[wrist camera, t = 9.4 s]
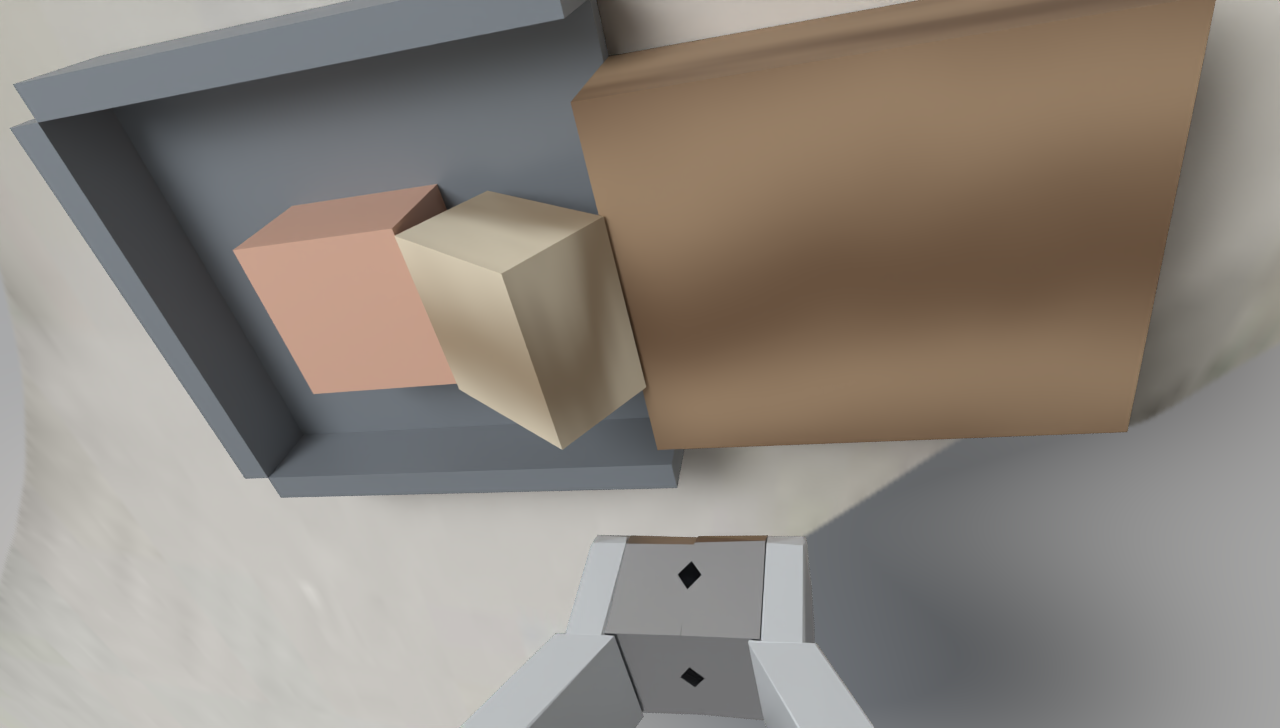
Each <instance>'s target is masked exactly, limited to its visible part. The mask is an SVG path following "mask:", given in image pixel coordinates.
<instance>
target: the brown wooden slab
mask: <svg viewBox="0 0 1280 728" xmlns="http://www.w3.org/2000/svg"><path fill="white" fill-rule="evenodd" d="M1215 1H1216V0H918V1H912V2H907V3H901V4H896V5H890V6H885V7H879V8H873V9H868V10H862V11H857V12H851V13H846V14H840V15H835V16H829V17H824V18H818V19H813V20H807V21H802V22H796V23H791V24H785V25H779V26H774V27H768V28H763V29H757V30H752V31H746V32H741V33H735V34H730V35H724V36H719V37H713V38H708V39H702V40H697V41H691V42H686V43H680V44H674V45H669V46H663V47H658V48H652V49H647V50H641V51H636V52H630V53H625V54H619V55H614V56H608V58H607V59H606V60H605V61H604V62H603V64H602V65H601V66H600V67H599V68H598V70H597V71H596V72H595V73H594V74H593V76H592V77H591V78H590V79H589V80H588V82H587V83H586V84H585V85H584V86H583V88H582V89H581V90H580V91H579V92H578V94H577V95H576V96H575V97H574V98H573V100H572V101H571V106H572V110H573V114H574V118H575V122H576V126H577V130H578V134H579V138H580V142H581V146H582V150H583V154H584V158H585V162H586V166H587V170H588V174H589V178H590V182H591V186H592V190H593V194H594V198H595V202H596V206H597V210H598V214H599V216H603V217H604V221H605V225H606V229H607V233H608V237H609V241H610V245H611V249H612V253H613V257H614V261H615V265H616V269H617V273H618V277H619V281H620V285H621V289H622V293H623V297H624V301H625V305H626V309H627V313H628V317H629V321H630V325H631V329H632V333H633V337H634V341H635V345H636V348H637V352H638V356H639V360H640V364H641V368H642V372H643V376H644V380H645V384H646V388H644V389H643V394H644V398H645V402H646V406H647V410H648V414H649V418H650V422H651V426H652V430H653V434H654V438H655V442H656V446H657V450H669V449H695V448H721V447H748V446H774V445H800V444H826V443H853V442H879V441H905V440H931V439H958V438H984V437H1008V436H1009V437H1010V436H1036V435H1062V434H1089V433H1115V432H1127V431H1128V426H1129V421H1130V416H1131V411H1132V406H1133V401H1134V396H1135V392H1136V387H1137V382H1138V377H1139V372H1140V367H1141V362H1142V357H1143V352H1144V348H1145V343H1146V338H1147V333H1148V328H1149V323H1150V318H1151V313H1152V309H1153V304H1154V299H1155V294H1156V289H1157V284H1158V279H1159V274H1160V270H1161V265H1162V260H1163V255H1164V250H1165V245H1166V240H1167V235H1168V230H1169V226H1170V221H1171V216H1172V211H1173V206H1174V201H1175V196H1176V191H1177V187H1178V182H1179V177H1180V172H1181V167H1182V162H1183V157H1184V152H1185V148H1186V143H1187V138H1188V133H1189V128H1190V123H1191V118H1192V113H1193V108H1194V104H1195V99H1196V94H1197V89H1198V84H1199V79H1200V74H1201V69H1202V65H1203V60H1204V55H1205V50H1206V45H1207V40H1208V35H1209V30H1210V25H1211V21H1212V16H1213V11H1214V6H1215Z"/></svg>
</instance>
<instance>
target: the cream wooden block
mask: <svg viewBox="0 0 1280 728" xmlns="http://www.w3.org/2000/svg"><path fill="white" fill-rule="evenodd" d="M395 239H396V241H397V243H398V246H399V248H400V250H401V253H402V255H403V258H404V260H405V262H406V265H407V267H408V269H409V272H410V274H411V277H412V279H413V281H414V284H415V286H416V288H417V291H418V293H419V295H420V298H421V300H422V303H423V305H424V307H425V310H426V312H427V314H428V317H429V319H430V322H431V324H432V326H433V329H434V331H435V333H436V336H437V338H438V340H439V343H440V345H441V348H442V350H443V352H444V355H445V357H446V359H447V362H448V364H449V366H450V369H451V371H452V374H453V376H454V378H455V381H456V383H457V385H458V388H459V390H461V391H463V392H464V393H466V394H468V395H469V396H471V397H473V398H475V399H476V400H478V401H480V402H481V403H483V404H485V405H487V406H488V407H490V408H492V409H493V410H495V411H497V412H498V413H500V414H502V415H504V416H505V417H507V418H509V419H510V420H512V421H514V422H516V423H517V424H519V425H521V426H522V427H524V428H526V429H528V430H529V431H531V432H533V433H534V434H536V435H538V436H539V437H541V438H543V439H545V440H546V441H548V442H550V443H551V444H553V445H555V446H557V447H558V448H560V449H562V450H563V449H564V448H566V447H567V446H568V445H570V444H571V443H572V442H574V441H575V440H576V439H578V438H579V437H580V436H582V435H583V434H584V433H586V432H587V431H588V430H590V429H591V428H592V427H594V426H595V425H596V424H598V423H599V422H600V421H602V420H603V419H604V418H606V417H607V416H608V415H610V414H611V413H612V412H614V411H615V410H616V409H618V408H619V407H620V406H622V405H623V404H624V403H626V402H627V401H628V400H630V399H631V398H632V397H634V396H635V395H636V394H638V393H639V392H640V391H642V390H643V389H644V388H646V384H645V380H644V376H643V372H642V368H641V364H640V360H639V356H638V352H637V348H636V345H635V341H634V337H633V333H632V329H631V325H630V321H629V317H628V313H627V309H626V305H625V301H624V297H623V293H622V289H621V285H620V281H619V277H618V273H617V269H616V265H615V261H614V257H613V253H612V249H611V245H610V241H609V237H608V233H607V229H606V225H605V221H604V217H603V216H599V215H595V214H590V213H586V212H581V211H577V210H572V209H568V208H563V207H559V206H554V205H550V204H545V203H541V202H536V201H532V200H527V199H523V198H518V197H514V196H510V195H505V194H501V193H496V192H492V191H486V192H484V193H482V194H479V195H477V196H475V197H473V198H471V199H469V200H467V201H465V202H463V203H461V204H459V205H457V206H455V207H453V208H451V209H449V210H447V211H444V212H442V213H440V214H438V215H436V216H434V217H432V218H430V219H428V220H426V221H424V222H422V223H420V224H418V225H416V226H414V227H412V228H409V229H407V230H405V231H403V232H401V233H399V234H397V235H395Z"/></svg>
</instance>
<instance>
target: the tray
mask: <svg viewBox="0 0 1280 728" xmlns="http://www.w3.org/2000/svg"><path fill="white" fill-rule="evenodd" d="M607 58H608V52H607V47H606V42H605V38H604V33H603V28H602V24H601V19H600V14H599V10H598V5H597V1H596V0H350V1H346V2H341V3H337V4H332V5H328V6H323V7H319V8H314V9H310V10H305V11H301V12H296V13H292V14H287V15H283V16H278V17H274V18H269V19H265V20H260V21H256V22H251V23H247V24H242V25H238V26H233V27H229V28H224V29H220V30H215V31H210V32H206V33H201V34H197V35H192V36H188V37H183V38H179V39H174V40H170V41H165V42H161V43H156V44H152V45H147V46H143V47H138V48H134V49H129V50H125V51H120V52H116V53H111V54H107V55H102V56H98V57H95V58H92V59H89V60H86V61H83V62H80V63H77V64H74V65H71V66H68V67H65V68H62V69H59V70H56V71H53V72H50V73H47V74H43V75H40V76H37V77H34V78H31V79H28V80H25V81H22V82H19V83H16V84H13V85H14V87H15V88H16V90H17V91H18V93H19V94H20V96H21V98H22V99H23V101H24V102H25V104H26V105H27V107H28V108H29V110H30V111H31V113H32V115H33V116H34V118H35V119H32V120H30V121H27V122H25V123H22V124H19V125H17V126H14V127H11V128H10V129H11V131H12V132H13V134H14V135H15V137H16V138H17V140H18V141H19V143H20V144H21V146H22V147H23V149H24V150H25V152H26V153H27V155H28V156H29V157H30V159H31V160H32V162H33V163H34V165H35V166H36V168H37V169H38V171H39V172H40V174H41V175H42V177H43V178H44V180H45V181H46V183H47V184H48V186H49V187H50V189H51V190H52V192H53V193H54V195H55V196H56V198H57V199H58V201H59V202H60V204H61V205H62V207H63V208H64V210H65V211H66V213H67V214H68V216H69V217H70V218H71V220H72V221H73V223H74V224H75V226H76V227H77V229H78V230H79V232H80V233H81V235H82V236H83V238H84V239H85V241H86V242H87V244H88V245H89V247H90V248H91V250H92V251H93V253H94V254H95V256H96V257H97V259H98V260H99V262H100V263H101V265H102V266H103V268H104V269H105V271H106V272H107V274H108V275H109V277H110V278H111V280H112V281H113V282H114V284H115V285H116V287H117V288H118V290H119V291H120V293H121V294H122V296H123V297H124V299H125V300H126V302H127V303H128V305H129V306H130V308H131V309H132V311H133V312H134V314H135V315H136V317H137V318H138V320H139V321H140V323H141V324H142V326H143V327H144V329H145V330H146V332H147V333H148V335H149V336H150V338H151V339H152V341H153V342H154V343H155V345H156V346H157V348H158V349H159V351H160V352H161V354H162V355H163V357H164V358H165V360H166V361H167V363H168V364H169V366H170V367H171V369H172V370H173V372H174V373H175V375H176V376H177V378H178V379H179V381H180V382H181V384H182V385H183V387H184V388H185V390H186V391H187V393H188V394H189V396H190V397H191V399H192V400H193V402H194V403H195V405H196V406H197V407H198V409H199V410H200V412H201V413H202V415H203V416H204V418H205V419H206V421H207V422H208V424H209V425H210V427H211V428H212V430H213V431H214V433H215V434H216V436H217V437H218V439H219V440H220V442H221V443H222V445H223V446H224V448H225V449H226V451H227V452H228V454H229V455H230V457H231V458H232V460H233V461H234V463H235V464H236V466H237V467H238V469H239V470H240V471H241V473H242V474H243V476H244V477H245V479H248V478H269V480H270V482H271V483H272V485H273V486H274V488H275V489H276V491H277V492H278V494H279V495H280V497H281V498H284V497H325V496H366V495H407V494H447V493H488V492H529V491H570V490H611V489H652V488H677V486H678V480H679V475H680V470H681V464H682V459H683V453H684V449H669V450H657V446H656V442H655V438H654V434H653V430H652V426H651V422H650V418H649V414H648V410H647V406H646V402H645V398H644V394H643V390H642V391H640V392H639V393H638V394H636V395H635V396H634V397H632V398H631V399H630V400H628V401H627V402H626V403H624V404H623V405H622V406H620V407H619V408H618V409H616V410H615V411H614V412H612V413H611V414H610V415H608V416H607V417H606V418H604V419H603V420H602V421H600V422H599V423H598V424H596V425H595V426H594V427H592V428H591V429H590V430H588V431H587V432H586V433H584V434H583V435H582V436H580V437H579V438H578V439H576V440H575V441H574V442H572V443H571V444H570V445H568V446H567V447H566V448H564V449H563V450H562V449H560V448H558V447H557V446H555V445H553V444H551V443H550V442H548V441H546V440H545V439H543V438H541V437H539V436H538V435H536V434H534V433H533V432H531V431H529V430H528V429H526V428H524V427H522V426H521V425H519V424H517V423H516V422H514V421H512V420H510V419H509V418H507V417H505V416H504V415H502V414H500V413H498V412H497V411H495V410H493V409H492V408H490V407H488V406H487V405H485V404H483V403H481V402H480V401H478V400H476V399H475V398H473V397H471V396H469V395H468V394H466V393H464V392H463V391H461V390H459V388H458V385H457V384H445V385H431V386H417V387H404V388H390V389H376V390H362V391H348V392H334V393H321V394H313V392H312V390H311V389H310V387H309V385H308V383H307V381H306V380H305V378H304V376H303V374H302V373H301V371H300V369H299V367H298V365H297V364H296V362H295V360H294V358H293V357H292V355H291V353H290V351H289V349H288V348H287V346H286V344H285V342H284V341H283V339H282V337H281V335H280V334H279V332H278V330H277V328H276V326H275V325H274V323H273V321H272V319H271V318H270V316H269V314H268V312H267V310H266V309H265V307H264V305H263V303H262V302H261V300H260V298H259V296H258V294H257V293H256V291H255V289H254V287H253V286H252V284H251V282H250V280H249V278H248V277H247V275H246V273H245V271H244V270H243V268H242V266H241V264H240V263H239V261H238V259H237V257H236V255H235V254H234V252H233V250H234V249H235V248H236V247H238V246H239V245H240V244H242V243H243V242H244V241H246V240H247V239H248V238H250V237H251V236H252V235H254V234H255V233H256V232H258V231H259V230H260V229H262V228H263V227H264V226H266V225H267V224H268V223H270V222H271V221H273V220H274V219H275V218H277V217H278V216H279V215H281V214H282V213H283V212H285V211H286V210H287V209H289V208H290V207H291V206H295V205H301V204H308V203H315V202H321V201H328V200H335V199H341V198H348V197H354V196H361V195H368V194H374V193H381V192H387V191H394V190H401V189H407V188H414V187H421V186H427V185H434V184H437V185H438V188H439V190H440V193H441V196H442V198H443V201H444V204H445V206H446V209H447V210H449V209H451V208H453V207H455V206H457V205H459V204H461V203H463V202H465V201H467V200H469V199H471V198H473V197H475V196H477V195H479V194H482V193H484V192H486V191H492V192H496V193H501V194H505V195H510V196H514V197H518V198H523V199H527V200H532V201H536V202H541V203H545V204H550V205H554V206H559V207H563V208H568V209H572V210H577V211H581V212H586V213H590V214H595V215H599V214H598V210H597V206H596V202H595V198H594V194H593V190H592V186H591V182H590V178H589V174H588V170H587V166H586V162H585V158H584V154H583V150H582V146H581V142H580V138H579V134H578V130H577V126H576V122H575V118H574V114H573V110H572V106H571V101H572V100H573V98H574V97H575V96H576V95H577V94H578V92H579V91H580V90H581V89H582V88H583V86H584V85H585V84H586V83H587V82H588V80H589V79H590V78H591V77H592V76H593V74H594V73H595V72H596V71H597V70H598V68H599V67H600V66H601V65H602V64H603V62H604V61H605V60H606V59H607Z"/></svg>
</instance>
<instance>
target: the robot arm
mask: <svg viewBox="0 0 1280 728" xmlns="http://www.w3.org/2000/svg"><path fill="white" fill-rule="evenodd" d="M642 712H644V713H672V714H698V715H711V716H722V717H733V718H744V719H755V720H764V722H765V725H766V727H767V728H875V727H874V726H873V725H872V723H871V722H870V720H869V719H868V717H867V716H866V714H865V713H864V711H863V710H862V709H861V707H860V706H859V704H858V703H857V701H856V700H855V699H854V697H853V696H852V694H851V692H850V691H849V690H848V688H847V687H846V685H845V684H844V682H843V681H842V679H841V678H840V676H839V675H838V674H837V672H836V671H835V669H834V668H833V666H832V665H831V663H830V662H829V661H828V659H827V658H826V656H825V655H824V653H823V652H822V650H821V649H820V647H819V646H818V644H817V643H815V635H814V615H813V600H812V586H811V577H810V568H809V558H808V548H807V540H806V536H768V535H766V536H698V538H697V537H663V536H614V535H597V537H596V538H595V540H594V541H593V543H592V544H591V547H590V550H589V554H588V557H587V561H586V564H585V567H584V571H583V574H582V578H581V581H580V585H579V588H578V592H577V595H576V598H575V602H574V605H573V609H572V612H571V616H570V619H569V623H568V626H567V630H566V633H555V634H554V635H553V636H552V637H551V638H550V639H549V640H548V641H547V642H546V643H545V644H544V645H543V646H542V647H541V648H540V649H539V650H538V651H537V652H536V653H535V654H534V655H533V656H532V657H531V658H530V659H529V660H528V661H527V662H526V663H525V664H524V665H523V666H522V667H521V668H520V669H519V670H518V671H517V672H515V673H514V674H513V675H512V676H511V677H510V678H509V679H508V680H507V681H506V682H505V683H504V684H503V685H502V686H501V687H500V688H499V689H498V690H497V691H496V692H495V693H494V694H493V695H492V696H491V697H490V698H489V699H488V700H487V701H486V702H485V703H484V704H483V705H482V706H481V707H480V708H479V709H478V710H477V711H476V712H475V713H474V714H473V715H472V716H470V717H469V718H468V719H467V720H466V721H465V722H464V723H463V724H462V725H461V726H460V727H459V728H636V726H637V725H638V723H639V722H640V721H641V719H642V718H643V713H642Z"/></svg>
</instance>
